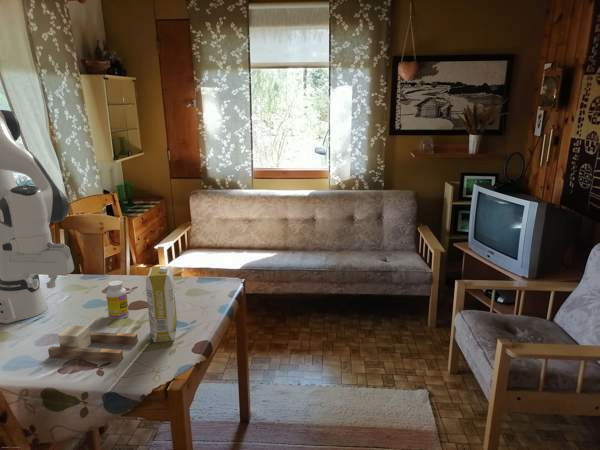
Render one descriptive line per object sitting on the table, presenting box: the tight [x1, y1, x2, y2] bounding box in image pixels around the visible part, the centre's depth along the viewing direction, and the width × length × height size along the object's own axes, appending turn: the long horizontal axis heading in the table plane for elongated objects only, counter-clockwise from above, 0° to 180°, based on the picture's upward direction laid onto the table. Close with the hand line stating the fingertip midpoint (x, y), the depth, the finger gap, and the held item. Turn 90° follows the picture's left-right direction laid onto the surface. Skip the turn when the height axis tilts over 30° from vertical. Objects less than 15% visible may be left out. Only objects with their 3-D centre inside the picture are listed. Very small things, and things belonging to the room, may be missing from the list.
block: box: [58, 325, 92, 349], centre depth 132 cm, size 6×6×6 cm
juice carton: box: [145, 265, 178, 343], centre depth 139 cm, size 9×8×24 cm
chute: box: [47, 331, 139, 363], centre depth 132 cm, size 22×11×4 cm, turn 84°
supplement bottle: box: [105, 280, 129, 319], centre depth 155 cm, size 7×7×13 cm
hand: (41, 287), depth 129 cm, fingers open, 5 cm apart
